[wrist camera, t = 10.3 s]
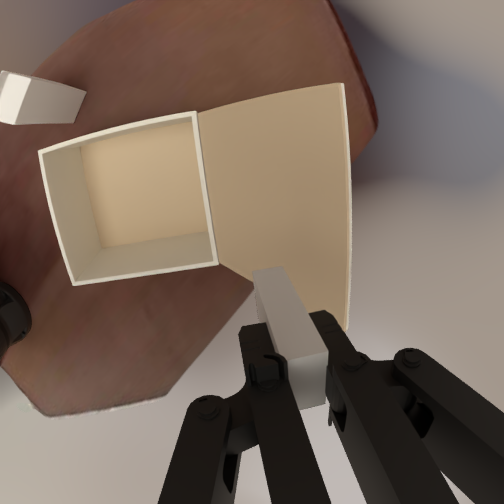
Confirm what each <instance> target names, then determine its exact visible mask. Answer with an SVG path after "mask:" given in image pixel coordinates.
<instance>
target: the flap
mask: <svg viewBox="0 0 504 504" xmlns="http://www.w3.org/2000/svg"><path fill="white" fill-rule="evenodd" d="M197 114H198V122H199V130H200V138H201V145H202V152H203V159H204V167H205V174H206V181H207V187H208V194H209V201H210V207H211V214H212V220H213V227H214V233H215V239H216V245H217V251H218V257H219V263H221V264H223V265H224V266H226V267H228V268H229V269H231V270H233V271H235V272H236V273H238V274H240V275H241V276H243V277H245V278H247V279H248V280H250V281H252V282H253V274H252V271H255V270H261V269H267V268H273V267H279V266H283V268H284V270H285V272H286V274H287V275H288V277H289V279H290V281H291V283H292V285H293V286H294V288H295V290H296V292H297V294H298V296H299V297H300V299H301V301H302V303H303V305H304V307H305V308H306V310H307V312H308V313H311V312H316V311H321V310H326V311H327V312H329V313H331V314H332V315H333V316H334V317H335V319H336V320H337V322H338V324H339V325H340V326H341V328H342V330H343V331H344V332H346V331H347V330H348V324H349V309H350V290H351V263H352V199H351V198H352V195H351V166H350V148H349V134H348V121H347V110H346V100H345V90H344V83H333V84H326V85H319V86H313V87H307V88H301V89H296V90H290V91H285V92H280V93H275V94H271V95H266V96H261V97H257V98H253V99H249V100H244V101H240V102H236V103H233V104H229V105H225V106H221V107H218V108H214V109H211V110H207V111H204V112H200V113H197ZM253 283H254V282H253Z"/></svg>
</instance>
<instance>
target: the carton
mask: <svg viewBox="0 0 504 504" xmlns="http://www.w3.org/2000/svg"><path fill="white" fill-rule="evenodd" d="M38 154H39V160H40V166H41V172H42V177H43V182H44V187H45V191H46V196H47V200H48V204H49V209H50V213H51V217H52V220H53V224H54V228H55V231H56V235H57V239H58V242H59V245H60V249H61V252H62V255H63V258H64V261H65V264H66V267H67V270H68V273H69V276H70V279H71V282H72V285H73V286H77V285H84V284H91V283H98V282H105V281H112V280H119V279H126V278H133V277H140V276H146V275H153V274H160V273H167V272H174V271H180V270H187V269H194V268H200V267H207V266H214V265H219V261H218V251H217V245H216V239H215V233H214V227H213V220H212V214H211V207H210V201H209V194H208V187H207V181H206V174H205V167H204V159H203V152H202V145H201V138H200V130H199V122H198V114H197V111H190V112H184V113H178V114H173V115H167V116H162V117H157V118H152V119H148V120H143V121H138V122H134V123H130V124H126V125H122V126H118V127H114V128H110V129H106V130H102V131H99V132H95V133H91V134H88V135H85V136H81V137H78V138H75V139H71V140H68V141H65V142H62V143H59V144H56V145H53V146H50V147H47V148H45V149H42V150H39V151H38Z"/></svg>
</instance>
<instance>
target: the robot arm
mask: <svg viewBox="0 0 504 504" xmlns="http://www.w3.org/2000/svg"><path fill="white" fill-rule="evenodd" d="M252 274H253V282H254V290H255V297H256V305H257V313H258V319H259V322H260V323H258V324H253V325H247V326H242V327H241V330H240V332H239V334H238V335H239V341H240V347H241V352H242V358H243V364H244V370H245V376H246V382H245V385H244V386H243V388H242V389H241V390H240V391H239V392H238V393H236V394H234V395H232V396H230V397H228V398H225V399H223V398H221V397H220V396H214V395H206V396H202V397H200V398H197V399H195V400H194V401H193V402H192V403H191V404H190V405H189V407H188V409H187V412H186V415H185V418H184V421H183V424H182V427H181V431H180V434H179V437H178V440H177V443H176V446H175V450H174V452H173V456H172V459H171V462H170V465H169V468H168V472H167V475H166V478H165V481H164V485H163V488H162V491H161V494H160V497H159V501H158V504H234V499H235V493H236V486H237V480H238V473H239V467H240V460H241V454H242V452H243V451H245V450H247V449H249V448H252V447H254V446H256V445H258V444H259V447H260V452H261V457H262V461H263V466H264V471H265V475H266V480H267V485H268V489H269V494H270V498H271V502H272V504H331V501H330V498H329V495H328V493H327V490H326V487H325V484H324V481H323V478H322V475H321V472H320V469H319V467H318V464H317V461H316V458H315V455H314V452H313V449H312V446H311V444H310V441H309V438H308V435H307V432H306V429H305V426H304V423H303V420H302V417H301V414H300V411H299V410H303V409H307V408H311V407H315V406H319V405H323V404H325V401H326V397H327V399H328V401H329V403H330V407H329V418H328V425H329V426H331V425H332V421H333V423H334V426H335V428H336V430H337V433H338V435H339V438H340V440H341V442H342V445H343V447H344V450H345V452H346V454H347V457H348V459H349V462H350V464H351V466H352V469H353V471H354V474H355V476H356V478H357V481H358V483H359V486H360V488H361V491H362V493H363V495H364V498H365V500H366V503H367V504H459V503H458V501H457V499H456V497H455V496H454V494H453V492H452V490H451V489H450V487H449V485H448V483H447V482H446V480H445V478H444V477H443V475H442V473H443V474H445V476H447V477H448V478H449V479H450V480H451V481H452V482H453V483H454V484H455V485H456V486H457V487H458V488H459V489H460V490H461V491H462V492H463V493H464V494H465V495H466V496H467V497H468V498H469V499H470V500H472V501H473V502H474V503H475V504H504V413H503V412H502V411H501V410H499V409H498V408H497V407H495V406H494V405H493V404H492V403H490V402H489V401H487V400H486V399H485V398H484V397H482V396H481V395H480V394H478V393H477V392H476V391H475V390H473V389H472V388H471V387H470V386H468V385H467V384H465V383H464V382H462V380H460V379H459V378H458V377H456V376H455V375H454V374H452V373H451V372H449V371H448V370H447V369H446V368H444V367H443V366H442V365H440V364H439V363H438V362H437V361H435V360H434V359H433V358H431V357H430V356H428V355H427V354H426V353H424V352H423V351H421V350H419V349H414V348H405V349H402V350H400V351H398V352H397V353H396V354H395V356H394V360H384V361H374V360H371V359H370V358H369V357H368V356H367V355H366V354H363V353H361V352H357V351H356V350H355V348H354V346H353V345H352V343H351V342H350V340H349V339H348V337H347V336H346V334H345V332H344V331H343V330H342V328H341V326H340V325H339V324H338V322H337V320H336V319H335V317H334V316H333V315H332V314H331V313H329V312H327V311H326V310H321V311H316V312H311V313H308V312H307V310H306V308H305V307H304V305H303V303H302V301H301V299H300V297H299V296H298V294H297V292H296V290H295V288H294V286H293V285H292V283H291V281H290V279H289V277H288V275H287V274H286V272H285V270H284V268H283V266H279V267H273V268H267V269H261V270H255V271H252ZM30 328H31V315H30V312H29V309H28V307H27V305H26V303H25V302H24V300H23V299H22V297H21V296H20V295H19V294H18V292H17V291H16V290H14V289H13V288H12V287H11V286H9V285H7V284H5V283H3V282H0V360H1V358H2V357H3V355H4V354H5V352H6V351H7V349H8V348H9V347H10V346H12V345H14V344H15V343H17V342H19V341H21V340H22V339H24V338H25V337H26V335H27V334H28V332H29V331H30ZM441 472H442V473H441Z"/></svg>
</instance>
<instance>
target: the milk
mask: <svg viewBox="0 0 504 504" xmlns="http://www.w3.org/2000/svg"><path fill="white" fill-rule="evenodd" d="M86 93H87V92H86V91H83V90H80V89H77V88H74V87H71V86H68V85H65V84H62V83H58V82H54V81H50V80H46V79H41V78H37V77H32V76H28V75H23V74H18V73H13V72H8V71H2V72H1V74H0V122H4V123H9V124H13V125H18V124H44V123H74V121H75V119H76V116H77V114H78V111H79V109H80V107H81V104H82V102H83V100H84V97H85V95H86Z"/></svg>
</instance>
